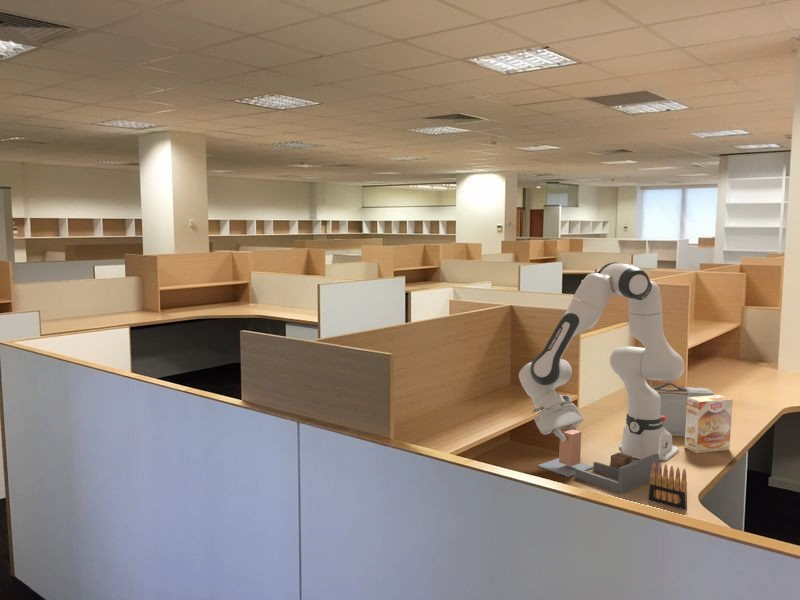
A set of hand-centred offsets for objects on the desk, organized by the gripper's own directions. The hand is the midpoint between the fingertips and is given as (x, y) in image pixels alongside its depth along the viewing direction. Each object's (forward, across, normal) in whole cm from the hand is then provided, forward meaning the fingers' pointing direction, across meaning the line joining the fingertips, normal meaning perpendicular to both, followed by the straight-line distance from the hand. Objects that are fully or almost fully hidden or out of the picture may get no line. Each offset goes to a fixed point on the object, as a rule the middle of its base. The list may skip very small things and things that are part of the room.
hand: (571, 439), depth 224 cm
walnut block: (+16, +10, -2) cm, 19 cm away
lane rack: (+17, +5, -2) cm, 18 cm away
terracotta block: (+6, 0, +6) cm, 8 cm away
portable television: (+8, +68, +7) cm, 69 cm away
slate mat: (+6, 0, +9) cm, 11 cm away
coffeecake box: (+21, +57, -6) cm, 61 cm away
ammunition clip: (+33, -1, -18) cm, 37 cm away
